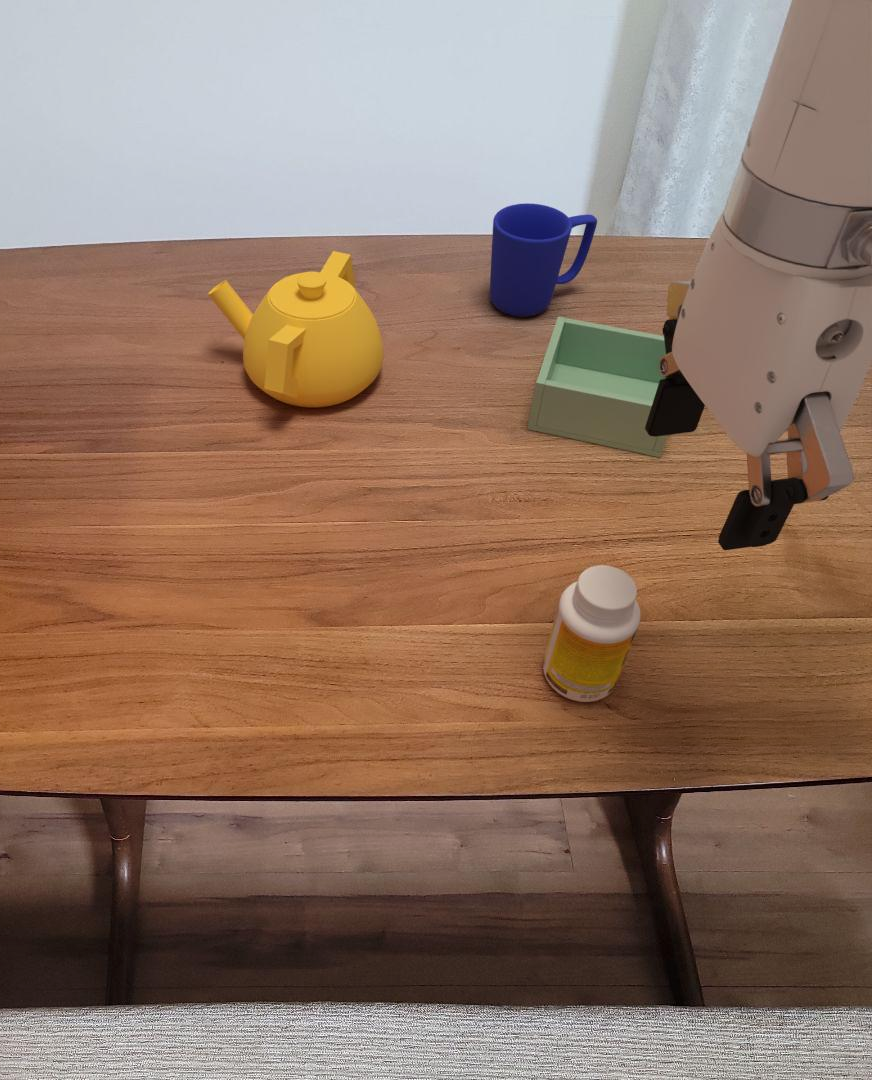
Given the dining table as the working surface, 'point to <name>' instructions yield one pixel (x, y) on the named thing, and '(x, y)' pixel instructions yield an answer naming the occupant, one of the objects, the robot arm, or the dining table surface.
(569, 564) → the dining table surface
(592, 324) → the bin
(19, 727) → the dining table surface
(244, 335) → the teapot
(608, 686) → the supplement bottle
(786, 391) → the robot arm
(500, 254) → the mug
